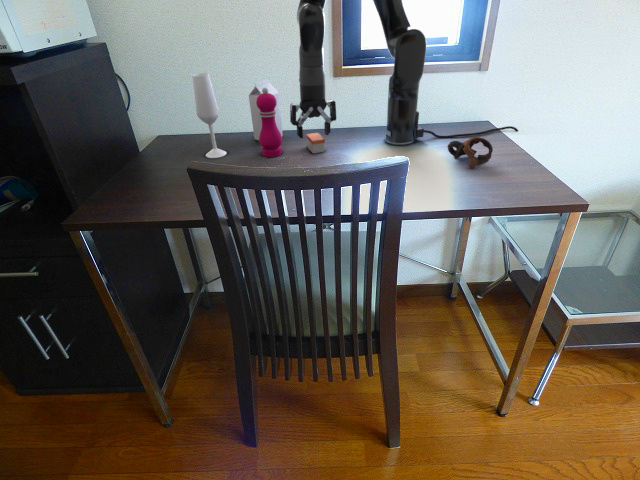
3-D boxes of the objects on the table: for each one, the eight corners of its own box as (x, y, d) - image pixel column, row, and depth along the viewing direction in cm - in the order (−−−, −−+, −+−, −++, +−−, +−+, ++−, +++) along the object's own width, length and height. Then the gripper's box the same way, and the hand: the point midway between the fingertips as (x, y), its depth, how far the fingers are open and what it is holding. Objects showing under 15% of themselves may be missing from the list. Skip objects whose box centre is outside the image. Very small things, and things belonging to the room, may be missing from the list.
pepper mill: (279, 158, 119) (272, 90, 108) (257, 157, 121) (248, 90, 110) (286, 149, 125) (280, 85, 114) (265, 149, 126) (257, 85, 115)
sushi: (318, 144, 128) (317, 132, 126) (325, 152, 122) (324, 139, 120) (306, 146, 127) (306, 134, 125) (313, 153, 121) (312, 140, 119)
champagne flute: (230, 153, 124) (217, 73, 111) (213, 159, 120) (196, 77, 107) (218, 148, 128) (204, 71, 115) (201, 154, 124) (184, 75, 111)
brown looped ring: (482, 157, 115) (496, 138, 108) (480, 181, 111) (494, 163, 103) (443, 145, 115) (455, 126, 108) (439, 169, 111) (451, 151, 104)
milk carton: (282, 136, 136) (277, 79, 126) (270, 143, 131) (263, 84, 121) (267, 134, 139) (260, 78, 129) (254, 140, 134) (246, 82, 124)
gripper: (292, 86, 108) (295, 142, 117) (339, 82, 112) (339, 136, 121) (285, 81, 114) (289, 135, 123) (330, 77, 118) (331, 130, 127)
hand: (314, 136), depth 122 cm, fingers open, 8 cm apart
